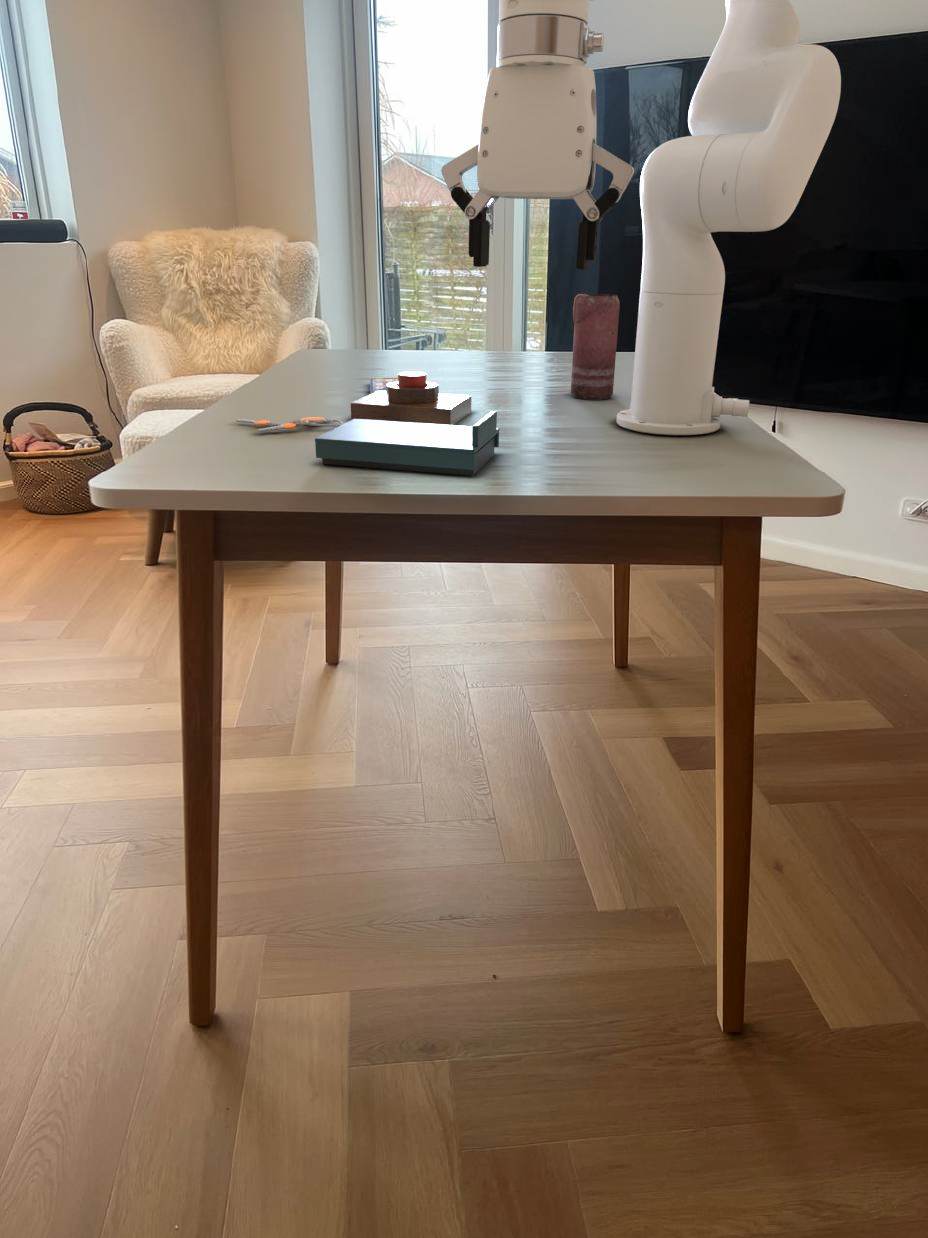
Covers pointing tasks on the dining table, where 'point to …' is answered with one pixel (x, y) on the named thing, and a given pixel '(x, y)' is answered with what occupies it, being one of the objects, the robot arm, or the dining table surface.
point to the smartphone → (380, 383)
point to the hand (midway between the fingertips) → (531, 267)
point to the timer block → (412, 405)
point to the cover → (408, 442)
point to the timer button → (412, 379)
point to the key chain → (292, 423)
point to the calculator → (480, 460)
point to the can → (594, 345)
